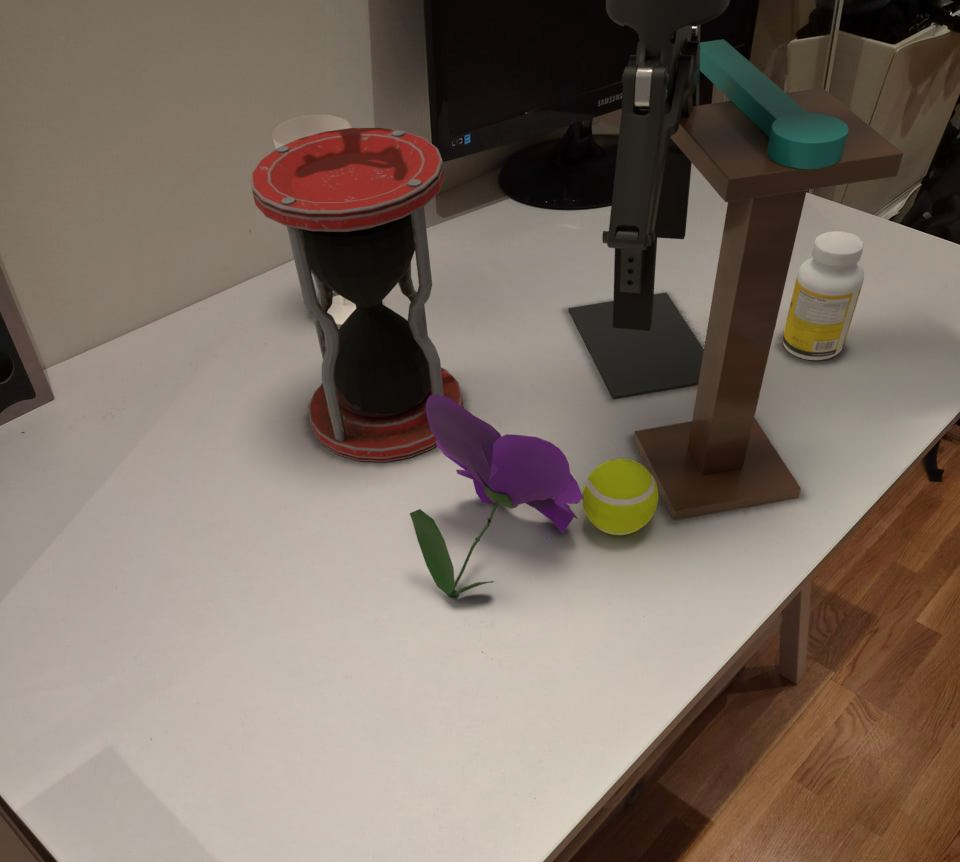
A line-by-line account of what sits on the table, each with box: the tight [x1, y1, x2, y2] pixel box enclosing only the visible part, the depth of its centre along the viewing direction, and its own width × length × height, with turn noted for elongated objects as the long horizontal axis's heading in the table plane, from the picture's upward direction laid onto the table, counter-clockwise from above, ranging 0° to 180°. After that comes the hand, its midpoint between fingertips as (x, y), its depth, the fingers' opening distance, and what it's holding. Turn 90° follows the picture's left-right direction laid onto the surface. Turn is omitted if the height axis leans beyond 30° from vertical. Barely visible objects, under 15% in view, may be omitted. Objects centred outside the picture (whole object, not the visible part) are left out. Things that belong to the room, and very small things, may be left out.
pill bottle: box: [782, 230, 865, 361], centre depth 90 cm, size 6×6×12 cm
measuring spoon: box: [700, 39, 848, 169], centre depth 62 cm, size 20×5×2 cm, turn 11°
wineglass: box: [271, 114, 356, 325], centre depth 97 cm, size 8×9×20 cm
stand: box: [633, 87, 904, 521], centre depth 72 cm, size 12×12×30 cm
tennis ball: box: [581, 458, 659, 536], centre depth 76 cm, size 7×7×7 cm
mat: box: [568, 292, 704, 400], centre depth 97 cm, size 18×12×1 cm, turn 11°
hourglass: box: [250, 127, 464, 463], centre depth 82 cm, size 16×16×25 cm
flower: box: [409, 394, 583, 599], centre depth 73 cm, size 15×15×14 cm
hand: (651, 279), depth 67 cm, fingers open, 13 cm apart
